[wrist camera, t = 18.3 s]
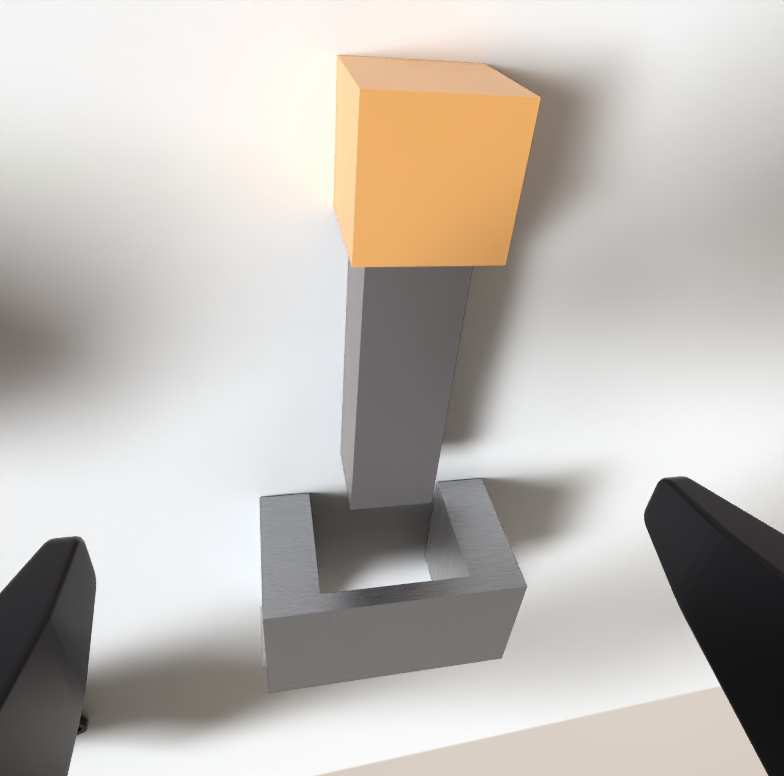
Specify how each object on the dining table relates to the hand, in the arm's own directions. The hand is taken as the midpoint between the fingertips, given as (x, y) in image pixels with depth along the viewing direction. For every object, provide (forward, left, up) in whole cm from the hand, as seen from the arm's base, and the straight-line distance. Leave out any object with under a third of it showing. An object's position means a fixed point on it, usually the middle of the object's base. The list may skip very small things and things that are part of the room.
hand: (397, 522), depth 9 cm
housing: (-5, -15, -11) cm, 19 cm away
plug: (+1, -3, -12) cm, 12 cm away
